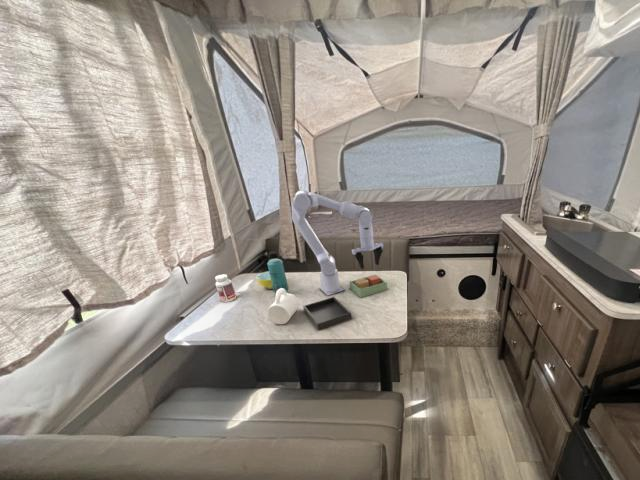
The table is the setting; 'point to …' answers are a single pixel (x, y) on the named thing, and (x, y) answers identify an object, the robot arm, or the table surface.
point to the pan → (327, 312)
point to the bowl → (265, 280)
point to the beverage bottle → (277, 272)
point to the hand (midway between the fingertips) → (369, 266)
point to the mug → (282, 307)
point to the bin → (368, 288)
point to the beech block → (362, 283)
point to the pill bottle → (225, 288)
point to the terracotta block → (373, 280)
